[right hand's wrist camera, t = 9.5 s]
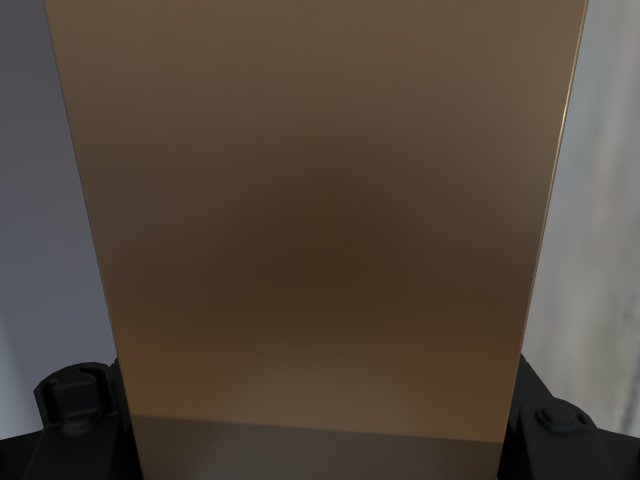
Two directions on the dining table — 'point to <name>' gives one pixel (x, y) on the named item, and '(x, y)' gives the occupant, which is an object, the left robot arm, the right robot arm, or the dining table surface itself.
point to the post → (317, 222)
